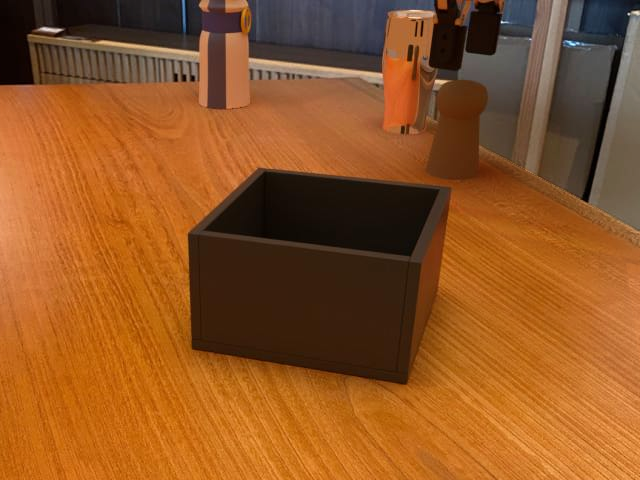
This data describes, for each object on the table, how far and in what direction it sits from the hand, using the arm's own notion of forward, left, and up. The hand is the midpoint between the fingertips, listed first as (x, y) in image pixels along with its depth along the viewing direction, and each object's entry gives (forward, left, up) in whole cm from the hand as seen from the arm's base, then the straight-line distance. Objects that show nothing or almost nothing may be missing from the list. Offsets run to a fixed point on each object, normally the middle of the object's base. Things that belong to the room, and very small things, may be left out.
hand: (462, 60), depth 85 cm
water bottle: (+43, -19, -13) cm, 48 cm away
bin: (-4, +36, -13) cm, 38 cm away
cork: (0, 0, -13) cm, 13 cm away
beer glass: (+12, -14, -13) cm, 22 cm away
